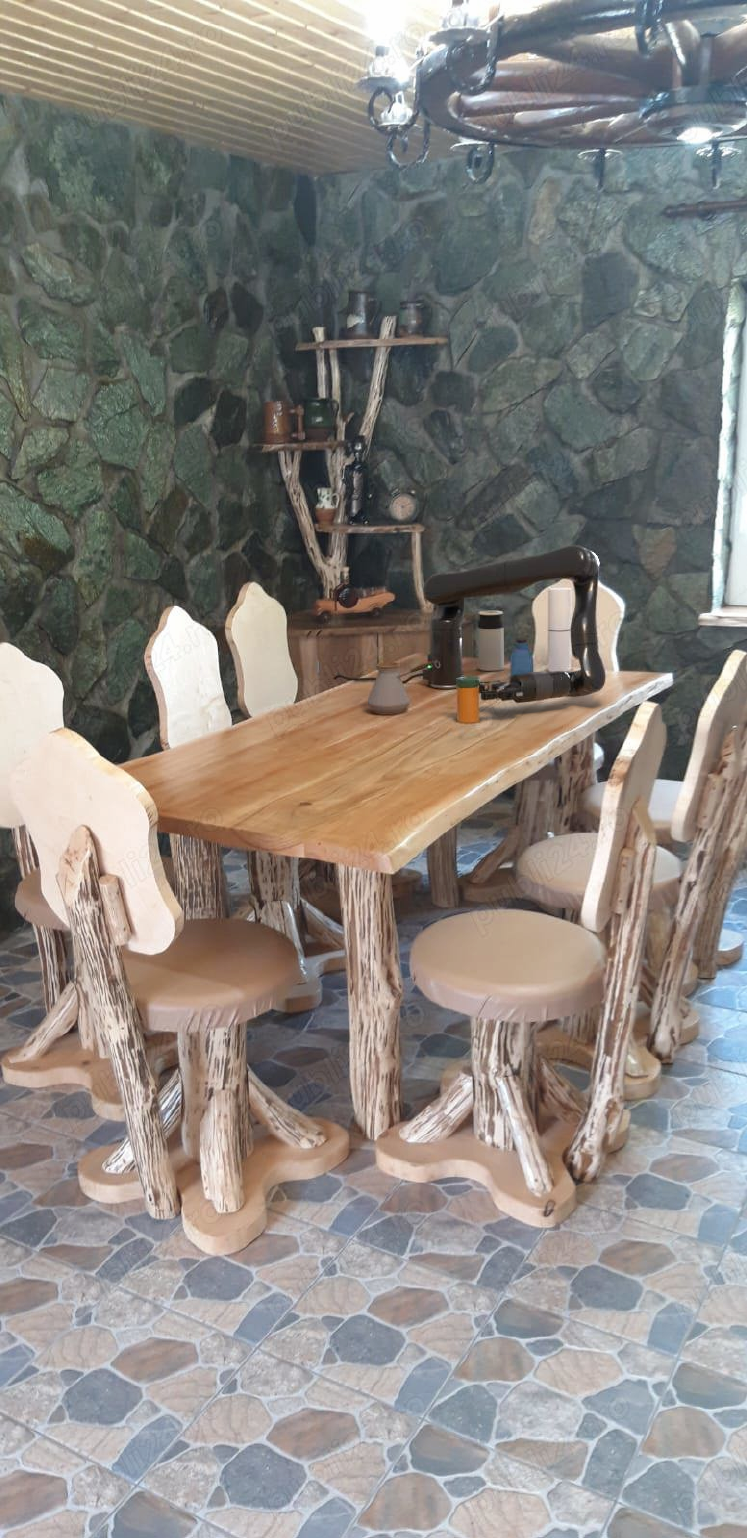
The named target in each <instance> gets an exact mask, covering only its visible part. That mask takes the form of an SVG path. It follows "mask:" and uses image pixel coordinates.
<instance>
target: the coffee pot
mask: <svg viewBox="0 0 747 1538" xmlns="http://www.w3.org/2000/svg"><path fill="white" fill-rule="evenodd" d="M437 662H438V661H437V660H434V661H432V662H428V661H427V663H422V664H420V665H417V666H415V667H413V668H411V669H410V670H407V671H404V672H402V673H399V667H400V666H401V664H400V663H399V662H394V661H387V662H386V661H385V662H378V663H376V664H375V667H376V669H377V671H378V672H377V675H376V677H375V678H376V680H374V682H373V685H372V687H371V688H372V689H371V690H370V693H369V696H368V698H367V705H368V707H369V709H370V710H372V711H374V714H377V715H382V716H383V715H385V716H386V715H387V716H389V715H399V714H402V713H404V711H405V710H406V709H407V708H408V707H409V706H410V705H411V698H410V697H409V694H408V692H407V689H406V688H405V685H404V683H402V681H403V680H402V678H403V677H404V676H407V675H409V674H412V673H416V672H418V671H423V670H424V669H427V668H428V666H432V664H435V663H437ZM439 665H440V663H439ZM435 666H436V664H435ZM436 667H437V666H436ZM439 667H440V666H439ZM439 667H437V668H439Z"/></svg>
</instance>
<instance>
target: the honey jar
mask: <svg viewBox="0 0 747 1538" xmlns="http://www.w3.org/2000/svg"><path fill="white" fill-rule="evenodd" d="M456 721H457V722H459V723H463V724H472V723H473V724H474V723H477V722H480V693H479V686H477V687H458V686H457V688H456Z"/></svg>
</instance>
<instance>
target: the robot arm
mask: <svg viewBox="0 0 747 1538" xmlns="http://www.w3.org/2000/svg"><path fill="white" fill-rule="evenodd" d="M599 573H600V561H599V558H598V556H597V555H596V553H595V552H593V551H592V550H591V549H588V548H587V547H583V546H581V545H578V544H571V545H565V546H563V547H560V548H556V549H553V550H550V551H548V552H544V553H540V554H535V555H526V556H521V557H515V558H507V559H503V560H498V561H494V562H490V563H486V564H483V565H480V566H477V567H475V568H472V569H468V570H465V571H459V572H456V571H452V570H447V571H442V572H437V573H434V574H432V575H430V576H429V577H428V578H427V579H426V580H425V582H424V584H423V587H422V593H423V596H424V598H425V599H426V601H428V602H429V603H430V604H433V605H434V606H436V607H435V611H434V613H433V615H432V616H431V617H430V618H429V649H430V650H429V651H430V653H428V654H427V663H428V662H432V661H434V660H437V661H438V662H437V663H435V664H436V666H437V667H439V666H440V667H439V668H437V667H436V666H435V664H432V666H428V667H426V668H424V669H422V672H421V673H416V674H413V675H411V676H409V677H408V678H406V679H405V680H402V683H403V684H407V683H409V682H410V681H411V680H412V679H414V678H418V677H422V681H427V687H428V688H433V689H441V690H449V689H450V690H451V689H457V686H456V678H458V677H463V676H464V670H463V633H462V632H463V630H462V629H463V628H462V625H463V619H464V617H465V605H466V599H467V598H479V597H480V598H481V597H492V596H493V597H494V596H503V595H509V594H515V593H519V592H522V591H525V590H527V589H529V588H531V587H532V586H534V585H536V584H538V583H540V582H545V581H550V580H551V581H553V580H569V581H571V582H572V585H573V586H572V587H573V590H574V591H573V592H574V609H573V612H572V616H571V656H572V657H573V658H574V660H578V663H579V666H580V669H578V670H572V671H566V672H564V671H533V672H531V673H522V674H514V675H513V676H512V677H511V676H510V680H509V682H507V680H500V679H498V680H497V679H496V680H485V681H480V685H479V694H480V699H481V700H482V701H490V700H491V701H492V700H497V701H500V700H501V701H502V702H506V701H513V702H514V703H516V704H521V703H522V704H523V703H524V704H525V703H531V702H540V701H541V702H542V701H545V700H549V699H559V698H565V697H567V698H578V697H585V696H586V697H587V696H589V695H592V694H595V693H599V692H600V691H601V690H602V689H603V688H604V687H605V684H606V677H607V676H606V669H605V666H604V663H603V659H602V656H601V654H600V651H599V650H600V649H599V636H598V623H597V620H598V619H597V603H598V602H597V601H598V586H599V575H600V574H599ZM439 663H440V665H439ZM338 678H342V679H344V680H347V681H355V682H356V681H357V682H358V681H375V680H376V678H377V677H348V676H346V675H343V674H336V675H335V676H334V677H333V678H332V680H337V679H338ZM486 687H487V688H486Z"/></svg>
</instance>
